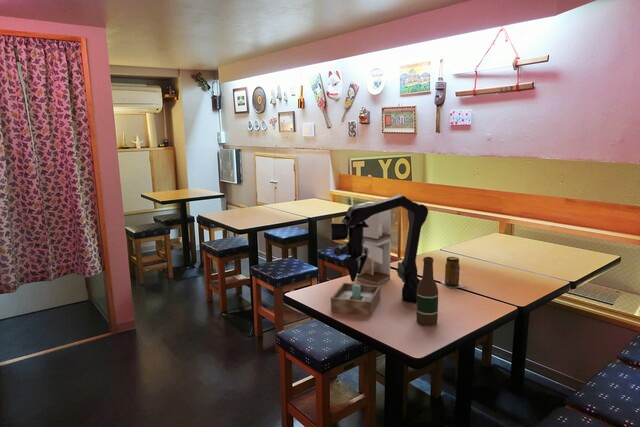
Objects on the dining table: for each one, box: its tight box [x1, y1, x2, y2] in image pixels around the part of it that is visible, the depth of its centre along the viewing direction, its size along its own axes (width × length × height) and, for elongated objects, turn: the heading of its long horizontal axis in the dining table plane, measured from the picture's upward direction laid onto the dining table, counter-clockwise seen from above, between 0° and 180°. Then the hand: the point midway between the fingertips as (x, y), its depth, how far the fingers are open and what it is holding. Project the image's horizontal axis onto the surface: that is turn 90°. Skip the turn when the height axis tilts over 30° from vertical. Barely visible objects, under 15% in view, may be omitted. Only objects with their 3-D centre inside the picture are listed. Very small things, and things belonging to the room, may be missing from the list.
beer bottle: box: [415, 256, 439, 327], centre depth 158 cm, size 8×8×24 cm
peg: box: [352, 285, 361, 300], centre depth 176 cm, size 3×3×8 cm
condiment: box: [440, 256, 465, 289], centre depth 196 cm, size 7×8×12 cm
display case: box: [356, 201, 392, 286], centre depth 203 cm, size 11×11×35 cm
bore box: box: [330, 282, 381, 317], centre depth 176 cm, size 16×18×6 cm
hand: (355, 277), depth 175 cm, fingers open, 9 cm apart
